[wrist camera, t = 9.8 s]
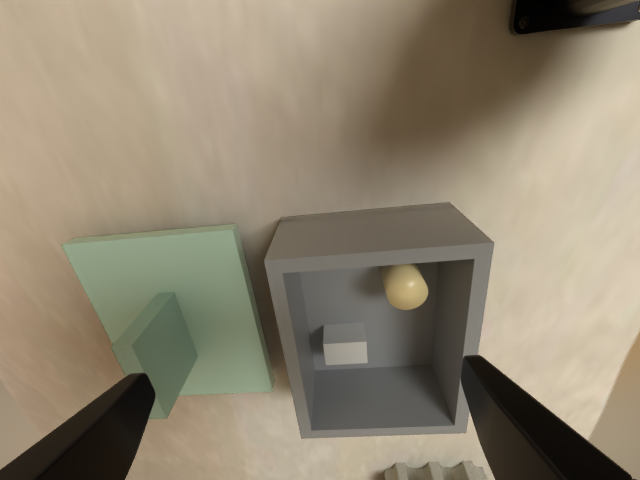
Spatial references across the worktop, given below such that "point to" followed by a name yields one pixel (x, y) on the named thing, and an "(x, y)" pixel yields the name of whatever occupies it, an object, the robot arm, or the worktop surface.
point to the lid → (177, 309)
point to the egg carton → (436, 472)
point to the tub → (379, 317)
